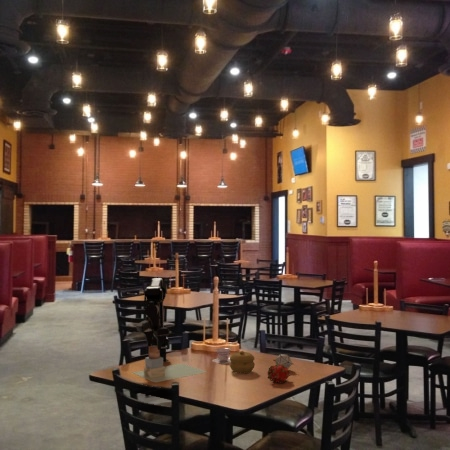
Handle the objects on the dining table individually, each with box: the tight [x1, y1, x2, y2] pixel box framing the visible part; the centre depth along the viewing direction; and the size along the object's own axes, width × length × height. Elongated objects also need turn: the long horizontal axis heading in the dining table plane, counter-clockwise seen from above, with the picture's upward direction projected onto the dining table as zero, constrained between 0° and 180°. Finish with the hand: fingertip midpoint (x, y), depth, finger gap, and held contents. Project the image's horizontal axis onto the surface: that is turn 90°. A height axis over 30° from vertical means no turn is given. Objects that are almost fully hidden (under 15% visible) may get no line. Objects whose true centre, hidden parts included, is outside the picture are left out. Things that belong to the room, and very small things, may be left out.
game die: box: [273, 352, 294, 369], centre depth 247 cm, size 9×8×10 cm
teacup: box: [211, 347, 232, 365], centre depth 267 cm, size 12×12×6 cm
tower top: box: [144, 356, 164, 369], centre depth 241 cm, size 6×6×4 cm
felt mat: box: [131, 362, 207, 383], centre depth 246 cm, size 22×28×1 cm
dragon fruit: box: [267, 364, 291, 384], centre depth 228 cm, size 8×8×12 cm
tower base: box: [143, 365, 165, 378], centre depth 241 cm, size 7×7×4 cm
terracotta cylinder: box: [148, 345, 160, 359], centre depth 241 cm, size 5×5×5 cm
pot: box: [229, 350, 256, 375], centre depth 245 cm, size 12×12×10 cm
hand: (154, 348), depth 241 cm, fingers open, 9 cm apart
